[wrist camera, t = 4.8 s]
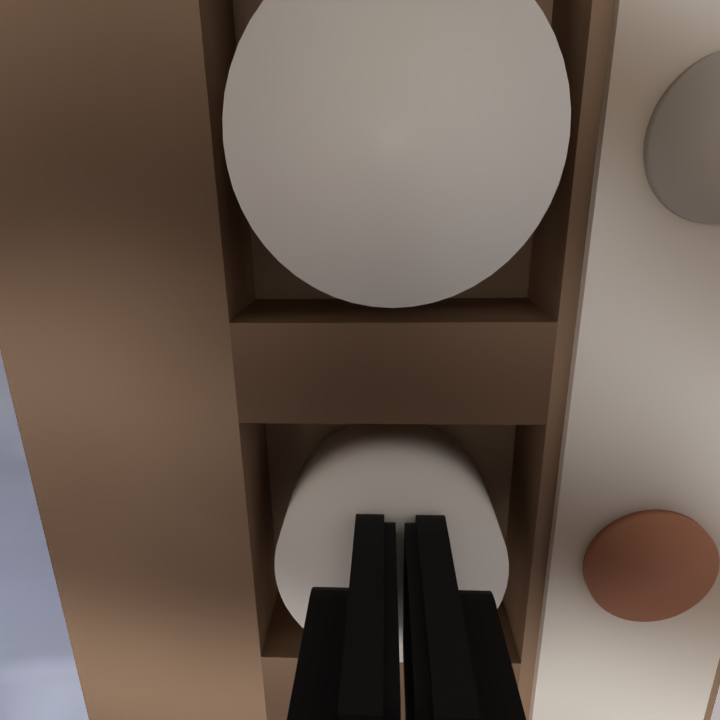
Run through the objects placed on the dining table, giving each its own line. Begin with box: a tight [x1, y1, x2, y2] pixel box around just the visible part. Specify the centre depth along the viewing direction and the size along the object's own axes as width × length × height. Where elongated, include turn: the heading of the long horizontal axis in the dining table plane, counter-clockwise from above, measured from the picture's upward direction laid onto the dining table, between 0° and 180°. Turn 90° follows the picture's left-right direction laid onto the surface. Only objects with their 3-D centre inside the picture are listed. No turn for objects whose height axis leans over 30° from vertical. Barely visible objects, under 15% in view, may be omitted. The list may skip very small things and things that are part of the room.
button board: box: [0, 0, 720, 720], centre depth 9 cm, size 25×14×3 cm, turn 1°
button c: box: [275, 424, 509, 662], centre depth 11 cm, size 4×4×2 cm
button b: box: [222, 0, 571, 308], centre depth 8 cm, size 4×4×2 cm
